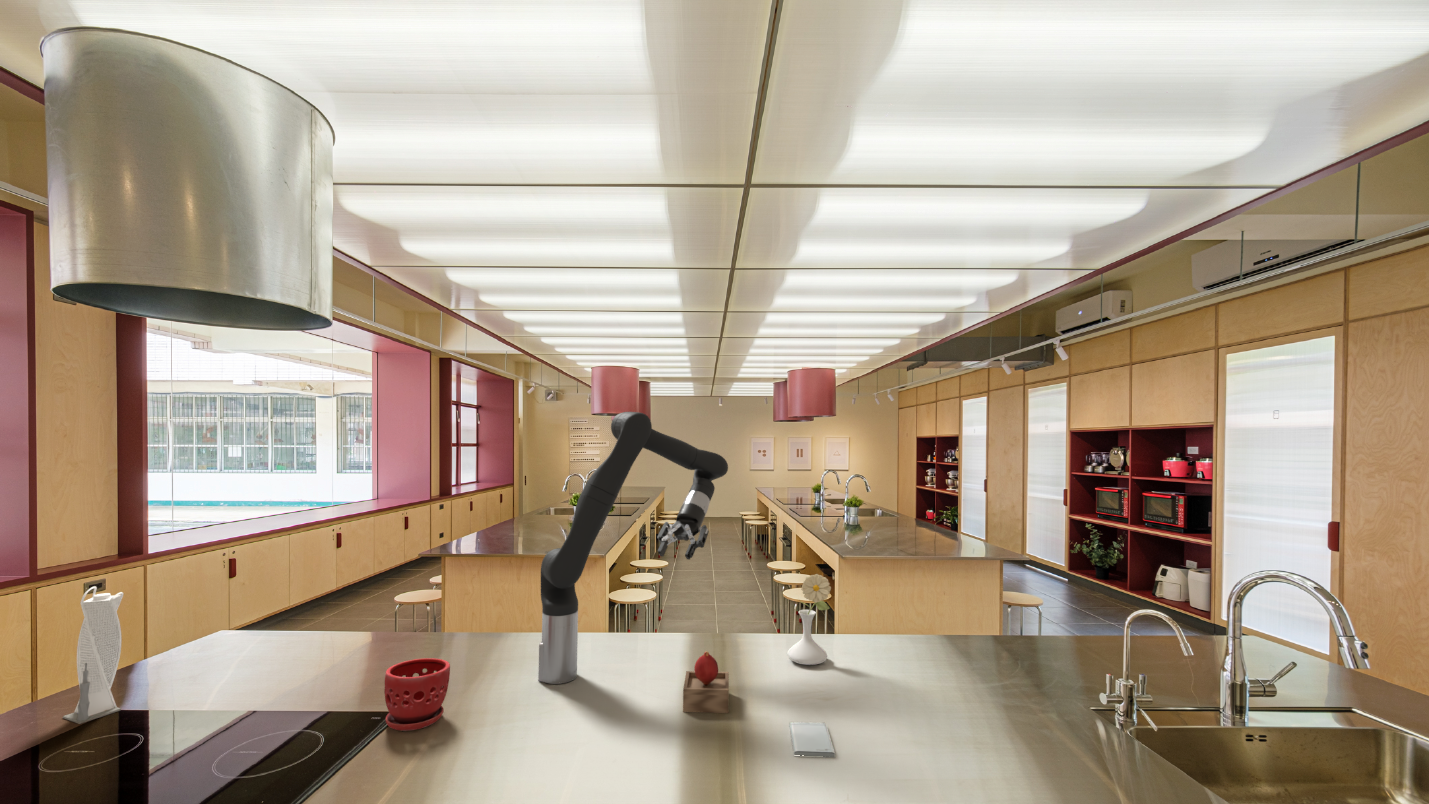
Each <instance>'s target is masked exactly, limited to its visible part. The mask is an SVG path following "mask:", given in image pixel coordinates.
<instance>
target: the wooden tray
mask: <svg viewBox="0 0 1429 804" xmlns="http://www.w3.org/2000/svg"><path fill="white" fill-rule="evenodd" d="M684 677H685V678H684V682H683V687H682V688H683V689H682V690H683V691H682V712H683V713H713V714H717V713H718V714H719V713H720V714H729V710H730V709H729V707H730V706H729V704H730V703H729V699H730V697H729V695H730V692H729V691H730V688H729V687H730V679H729V677H730V673H729V671H718V675H717V677H716V678H715V679H714V680H713V681H712V682H711V683H710V684H708V685H704V684H703V683H702V682H701V681H700V680H699V679H698V678H697V677H696V675H695V671H694V670H692V671H691V670H686V672H685V676H684Z"/></svg>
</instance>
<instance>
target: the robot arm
mask: <svg viewBox="0 0 1429 804" xmlns="http://www.w3.org/2000/svg"><path fill="white" fill-rule="evenodd" d="M652 425H653V424H652V420H651V418H650V417H649V416H648V415H647V414H645V413H643V412H638V411H624V412H620V413H618V414H616V415H615V416H614V417H613V419H612V420H611V425H610V431H611V433H612V436H613V437H614V438H615V439H616V440H617V441H616V443H615V445H614V447H613V448H612V450H611V452H610V453H609V455H608V456H607V458H605V460H604V461H603V462H602V463H600V465H599V466H598V467H597V468H596V469H595V470H594V471H593V473H592V474H591V475H590V476H589V477H588V480H587V481H586V484H585V485H584V487H583V489H582V491H581V493H580V496H579V497H578V499H577V503H576V506H575V510H574V515H573V520H572V523H571V524H572V525H571V527H570V530H569V532H568V535H567V537H566V539H565V541H564V542H563V544H562V546H561V547H559V548H554V549H551V550H549V551H548V552H547V553H546V554H545V555H544V557H543V559H542V561H541V564H540V565H541V566H540V600H541V607H542V608H541V609H542V611H541V612H542V613H541V614H542V615H541V616H542V617H541V641H540V642H539V645H538V673H537V674H538V675H537V676H538V677H537V678H538V679H537V681H538V682H543V683H545V684H550V685H560V684H566V683H569V682H572V681H573V680H575V679H576V678H577V676H578V638H579V636H578V635H579V634H578V631H579V630H578V629H579V628H578V627H579V625H578V624H579V600H578V596H577V593H576V583H577V582H578V581H579V579H580V578H581V576H582V574H583V572H584V570H585V567H586V564H587V560H588V558H589V555H590V552H591V550H592V548H593V545H594V543H595V541H596V539H597V537H598V535H599V534H600V532H601V529H602V527H603V525H604V523H605V521H606V520H607V518H608V516H609V514H610V512H611V511H612V508H613V506H614V504H615V502H616V500H617V498H618V495H619V494H620V491H621V489H622V487H623V485H624V483H625V481H626V480H627V477H628V475H629V472H630V471H631V468H632V466H633V465H634V463H635V461H636V460H637V458H638V456H639V455H640V453H641V452H642V450H643V449H644V450H647V451H650V452H651V453H654V454H657V455H658V456H660V457H663V458H664V459H666V460H668V461H670V462H672V463H674V464H675V465H678V466H680V467H682V468H684V469H687V470H688V471H689V470H690V471H694V472H693V477H692V485H691V487H690V488H689V490H688V493H687V494H686V496H685V497H684V500H683V502H682V504H681V507H680V509H679V511H678V514H677V515H676V518H675V522H674V523H673V524H671V523H669V522H668V521H665V522H664V523H663V524H662V525H663V526H662V527H661V529H660V530H659V532H658V534H657V536H656V537H657V539H658V541H659V544H660V545H659V546H658V549H657V552H658V555H659V556H660V557H664V556H665V554H666V551H667V549H668V546H669V545H670V544H672V543H675V542H677V540H678V541H686V542H687V541H690V544H689V545H688V547H687V549H686V550H685V551H686V552H685V554H684V557H685V559H686V560H687V561H688V560H691V558H693V557H694V554H695V552H696V550H697V549H698V548H701V549H702V548H704V547H705V544H706V541H707V539H708V536H709V535H708V534H709V532H710V531H709V529H708V527H707V525H706V524H704V525H702V524H703V522H704V519H705V517H706V515H707V513H708V510H709V506H710V503H711V500H712V498H713V496H714V493H715V489H716V488H715V485H714V483H713V482H712V481H714V480H717V479H720V478H722V477H724V476H725V475H727V472H728V470H729V465H728V462H727V460H726V459H725V458H724V456H722V455H720V454H718V453H716V452H712V451H710V450H709V451H708V450H704V449H699V448H698V447H695V446H693V445H691V444H690V443H688V442H685V441H683V440H682V439H681V440H680V439H679V438H675V437H673V436H670V435H668V434H665V433H662V432H660V431H658V430H655V429H653V428H652ZM697 534H699V535H698V538H697V540H696V538H695V536H696V535H697ZM673 535H674V536H673Z"/></svg>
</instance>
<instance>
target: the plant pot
mask: <svg viewBox="0 0 1429 804" xmlns="http://www.w3.org/2000/svg"><path fill="white" fill-rule="evenodd" d="M424 670H426V671H425V672H424ZM450 673H451V664H450V662H449V661H447V660H445V659H441V658H432V657H431V658H430V657H425V658H415V659H409V660H405V661H402V662H398V663H396V664H394V665H391V666H390V667H388V668H387V669H386V671H385V675H384V688H383V691H384V701H385V704H386V709H387V711H388V713H387V715H386V716H385V723H386V724H387V726H388V727H389V728H390V729H393V730H395V731H401V732H408V731H416V730H420V729H423V728H426V727H429V726H431V725H433V724H435V723H436V722H438V721H439V720H440V718H441V717H442V716H443V714H444V706H442V704H444V701H445V698H446V696H447V693H448V688H449V682H450V676H451V674H450ZM415 674H418V675H417V676H414V675H415Z"/></svg>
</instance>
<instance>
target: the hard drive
mask: <svg viewBox="0 0 1429 804" xmlns="http://www.w3.org/2000/svg"><path fill="white" fill-rule="evenodd" d="M788 727H789V732H790V738H791V739H792V740H791V745H793V746H792V751H794V752H793V756H794V755H800V756H802V755H804V756H823V757H822V758H831V757H836V752H835V749H834V746H833V743H832V739H831V735H830V732H829V729H828V726H827V723H825V722H803V721H801V722H800V721H795V722H794V721H793V722H792V721H791V722H789V726H788ZM800 756H799V757H800Z"/></svg>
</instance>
